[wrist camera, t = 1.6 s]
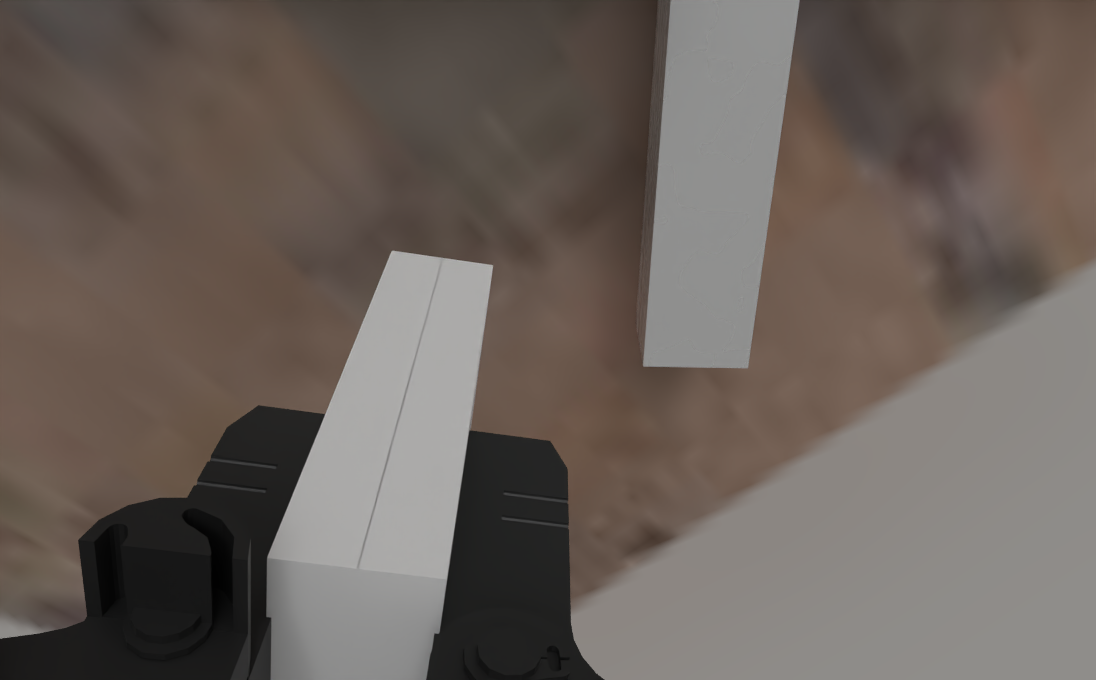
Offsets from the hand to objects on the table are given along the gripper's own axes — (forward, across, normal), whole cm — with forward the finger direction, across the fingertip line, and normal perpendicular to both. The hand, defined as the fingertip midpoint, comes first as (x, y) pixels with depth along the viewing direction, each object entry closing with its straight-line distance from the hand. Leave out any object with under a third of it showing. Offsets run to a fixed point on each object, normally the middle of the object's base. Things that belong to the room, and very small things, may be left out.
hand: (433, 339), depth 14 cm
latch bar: (+11, +5, +3) cm, 13 cm away
